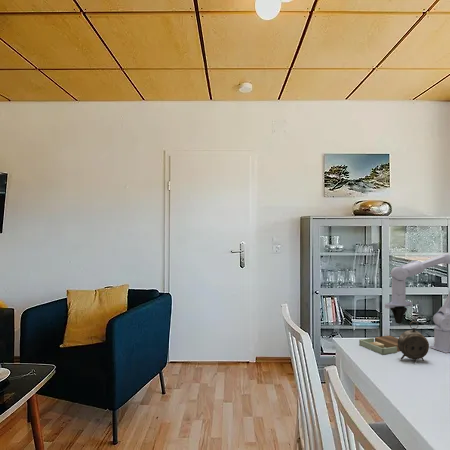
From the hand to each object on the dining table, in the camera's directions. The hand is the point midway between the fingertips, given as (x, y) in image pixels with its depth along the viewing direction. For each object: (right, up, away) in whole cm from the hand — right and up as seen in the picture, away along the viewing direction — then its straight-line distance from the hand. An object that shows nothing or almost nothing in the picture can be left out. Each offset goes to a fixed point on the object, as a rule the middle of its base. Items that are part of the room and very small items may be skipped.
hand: (398, 323), depth 171 cm
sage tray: (-11, -10, -5) cm, 16 cm away
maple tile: (-12, -8, -5) cm, 15 cm away
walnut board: (-3, -10, -1) cm, 11 cm away
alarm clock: (-3, -11, -20) cm, 22 cm away
